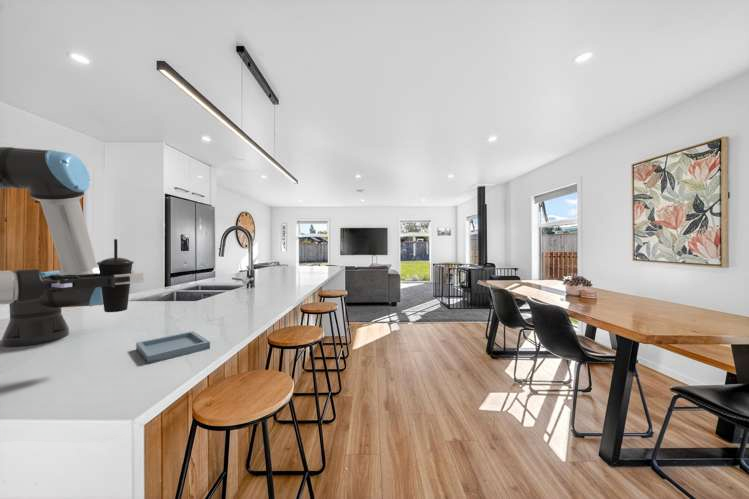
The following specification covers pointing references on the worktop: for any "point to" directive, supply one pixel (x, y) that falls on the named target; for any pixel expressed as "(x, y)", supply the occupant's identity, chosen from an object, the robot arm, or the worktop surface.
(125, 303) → the drinking cup
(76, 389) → the worktop surface
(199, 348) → the slate tray
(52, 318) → the robot arm
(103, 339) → the worktop surface
